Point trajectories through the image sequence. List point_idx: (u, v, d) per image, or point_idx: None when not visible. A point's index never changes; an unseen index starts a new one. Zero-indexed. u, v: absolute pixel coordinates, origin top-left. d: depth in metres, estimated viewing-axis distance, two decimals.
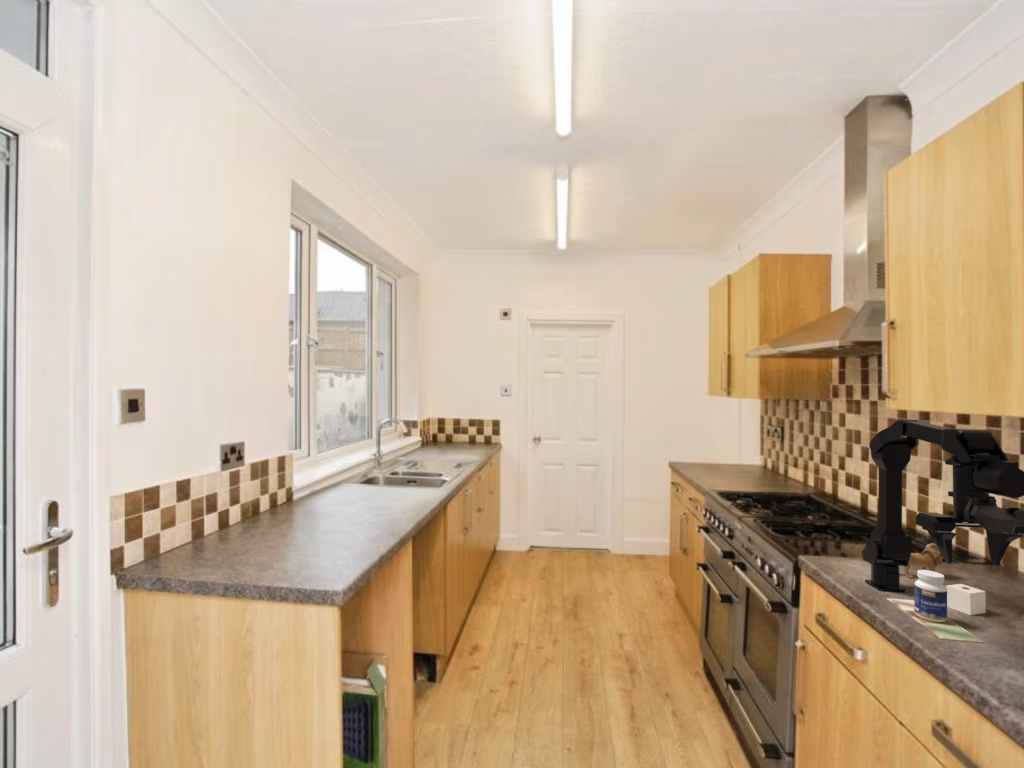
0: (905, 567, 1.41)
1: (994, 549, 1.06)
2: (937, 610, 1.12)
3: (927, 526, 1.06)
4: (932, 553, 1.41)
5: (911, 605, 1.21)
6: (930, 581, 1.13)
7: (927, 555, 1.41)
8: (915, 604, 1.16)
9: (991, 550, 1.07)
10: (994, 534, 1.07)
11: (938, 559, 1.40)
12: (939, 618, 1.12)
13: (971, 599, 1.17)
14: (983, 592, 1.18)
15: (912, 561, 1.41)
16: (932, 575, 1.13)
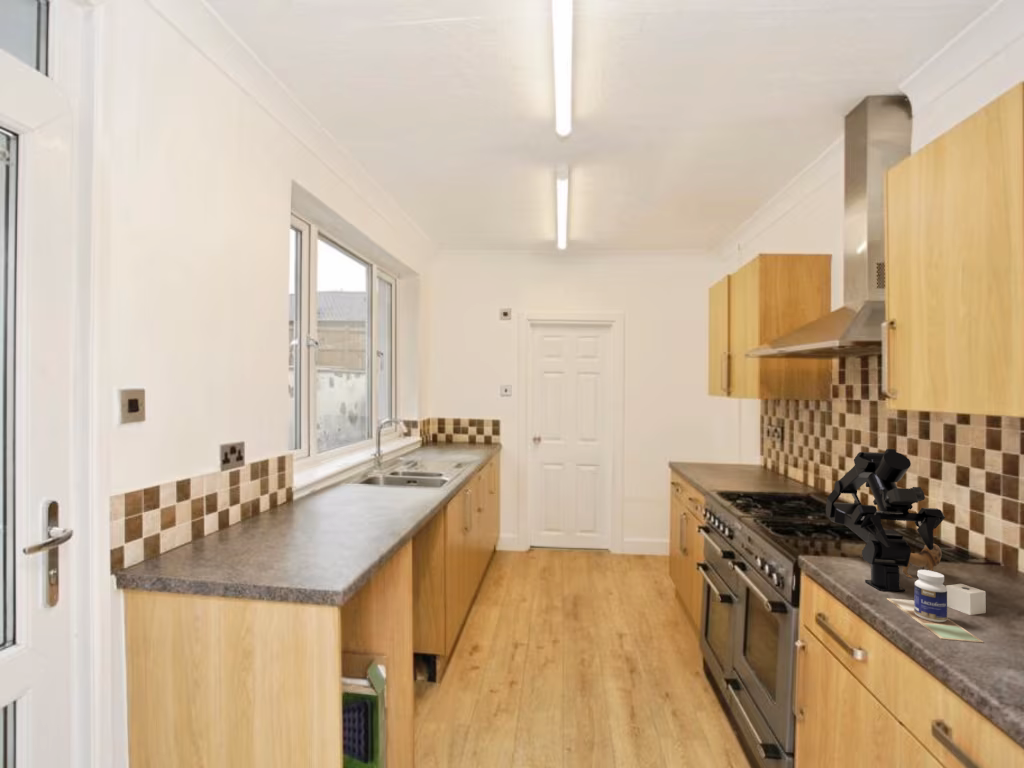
0: (904, 567, 1.42)
1: (925, 537, 1.24)
2: (937, 610, 1.12)
3: (857, 515, 1.29)
4: (931, 553, 1.41)
5: (911, 605, 1.21)
6: (930, 581, 1.13)
7: (925, 555, 1.41)
8: (915, 604, 1.16)
9: (925, 540, 1.24)
10: (921, 527, 1.27)
11: (936, 559, 1.40)
12: (939, 618, 1.12)
13: (971, 599, 1.17)
14: (983, 592, 1.18)
15: (911, 561, 1.41)
16: (932, 575, 1.13)
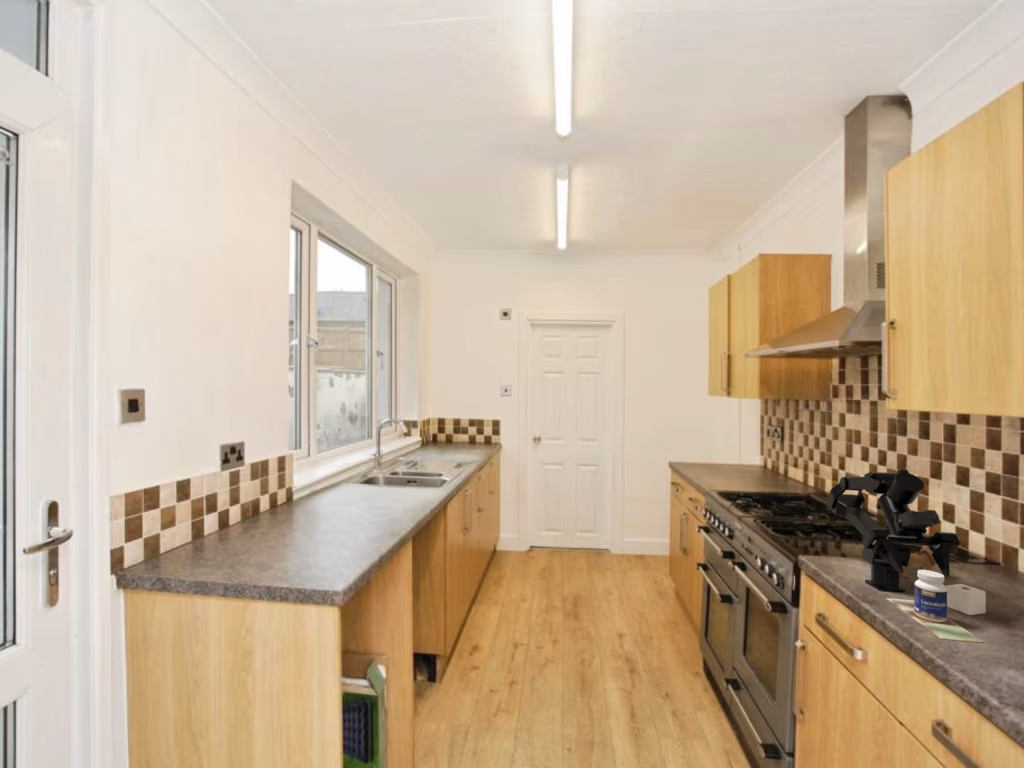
0: None
1: (941, 563, 1.18)
2: (937, 610, 1.12)
3: (868, 539, 1.24)
4: (929, 553, 1.41)
5: (911, 605, 1.21)
6: (930, 581, 1.13)
7: (924, 555, 1.41)
8: (915, 604, 1.16)
9: (940, 566, 1.19)
10: (936, 552, 1.21)
11: None
12: (939, 618, 1.12)
13: (971, 599, 1.17)
14: (983, 592, 1.18)
15: (909, 561, 1.41)
16: (932, 575, 1.13)
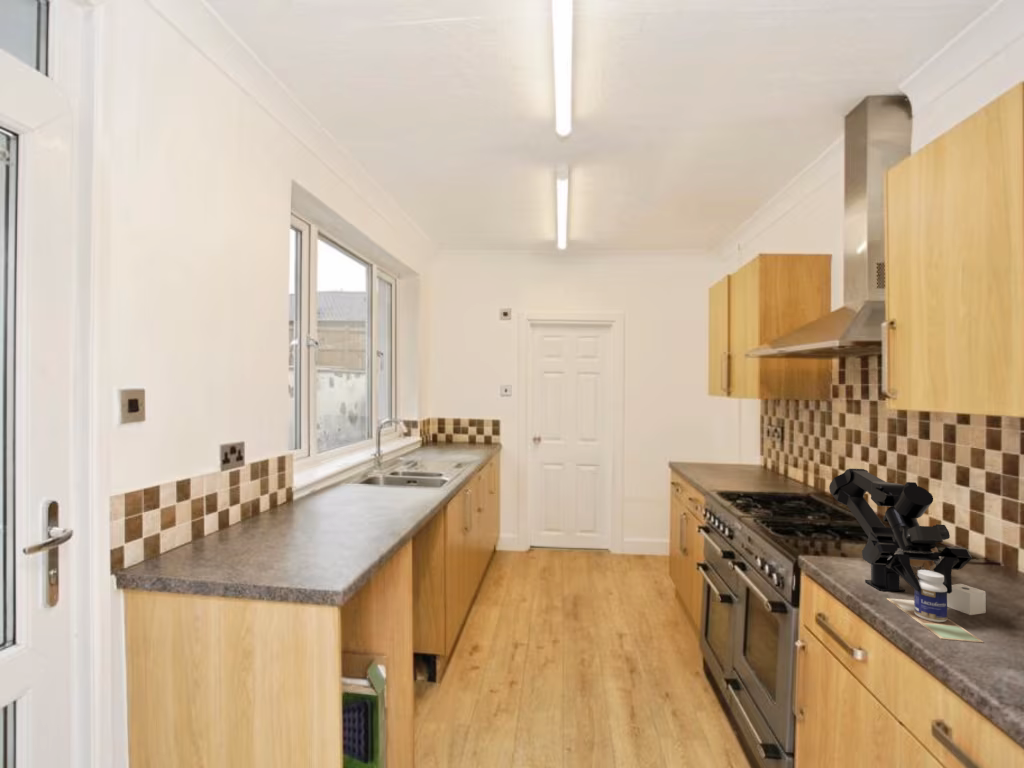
0: None
1: None
2: (937, 610, 1.12)
3: (876, 554, 1.20)
4: None
5: (911, 605, 1.21)
6: (930, 581, 1.13)
7: None
8: (915, 604, 1.16)
9: None
10: (938, 567, 1.18)
11: None
12: (939, 618, 1.12)
13: (971, 599, 1.17)
14: (983, 592, 1.18)
15: None
16: (932, 575, 1.13)
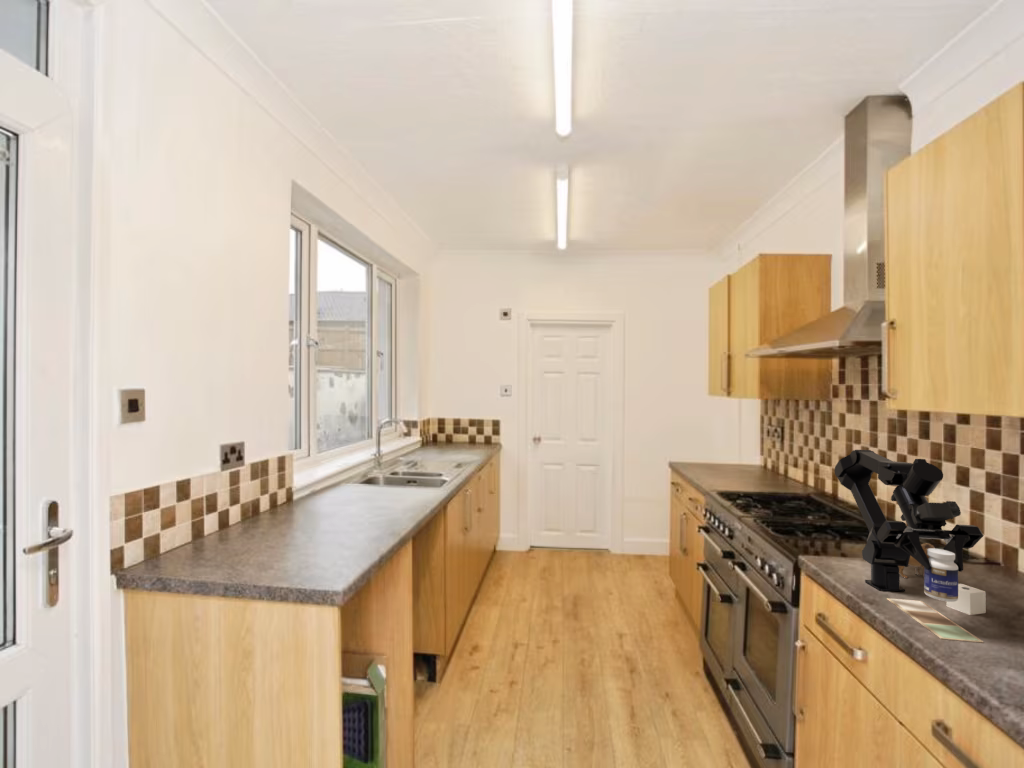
0: (899, 567, 1.41)
1: None
2: (948, 589, 1.08)
3: (884, 532, 1.16)
4: (926, 553, 1.41)
5: (911, 605, 1.21)
6: (941, 559, 1.10)
7: None
8: (925, 583, 1.12)
9: None
10: (948, 546, 1.14)
11: None
12: (950, 597, 1.08)
13: (971, 599, 1.17)
14: (983, 592, 1.18)
15: None
16: (943, 553, 1.10)
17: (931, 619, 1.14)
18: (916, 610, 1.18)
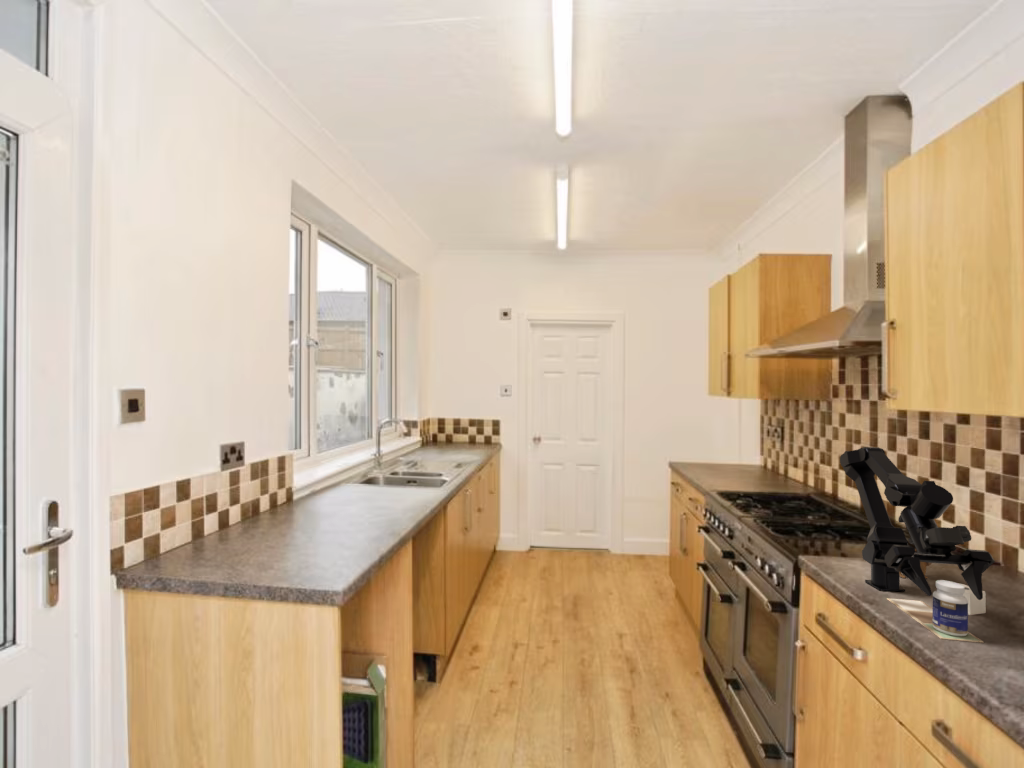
0: None
1: (972, 584, 1.08)
2: (957, 623, 1.05)
3: (892, 557, 1.13)
4: None
5: (911, 605, 1.21)
6: (950, 592, 1.07)
7: None
8: (933, 616, 1.09)
9: (971, 587, 1.08)
10: (967, 572, 1.10)
11: None
12: (959, 632, 1.05)
13: (971, 599, 1.17)
14: (983, 592, 1.18)
15: None
16: (952, 586, 1.07)
17: (931, 619, 1.14)
18: (916, 610, 1.18)
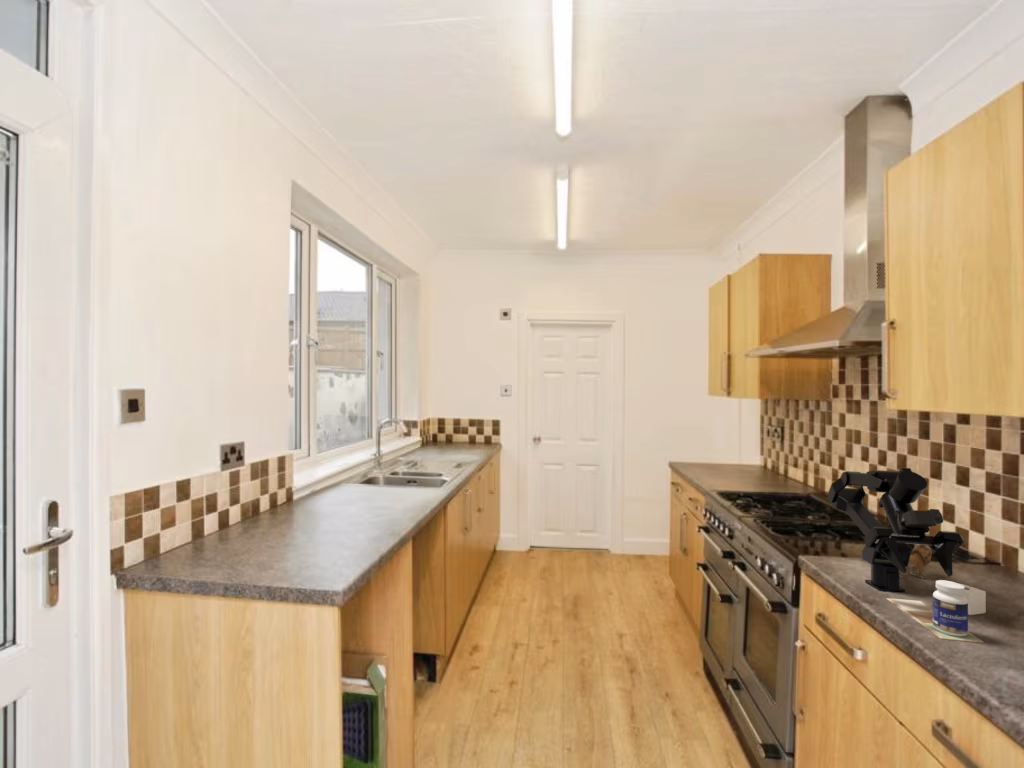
0: None
1: (943, 562, 1.17)
2: (957, 623, 1.05)
3: (871, 538, 1.22)
4: (921, 553, 1.41)
5: (911, 605, 1.21)
6: (950, 593, 1.06)
7: (916, 555, 1.41)
8: (933, 617, 1.09)
9: (943, 565, 1.18)
10: (939, 551, 1.20)
11: (927, 559, 1.40)
12: (959, 632, 1.05)
13: (971, 599, 1.17)
14: (983, 592, 1.18)
15: None
16: (952, 586, 1.07)
17: (931, 619, 1.14)
18: (916, 610, 1.18)
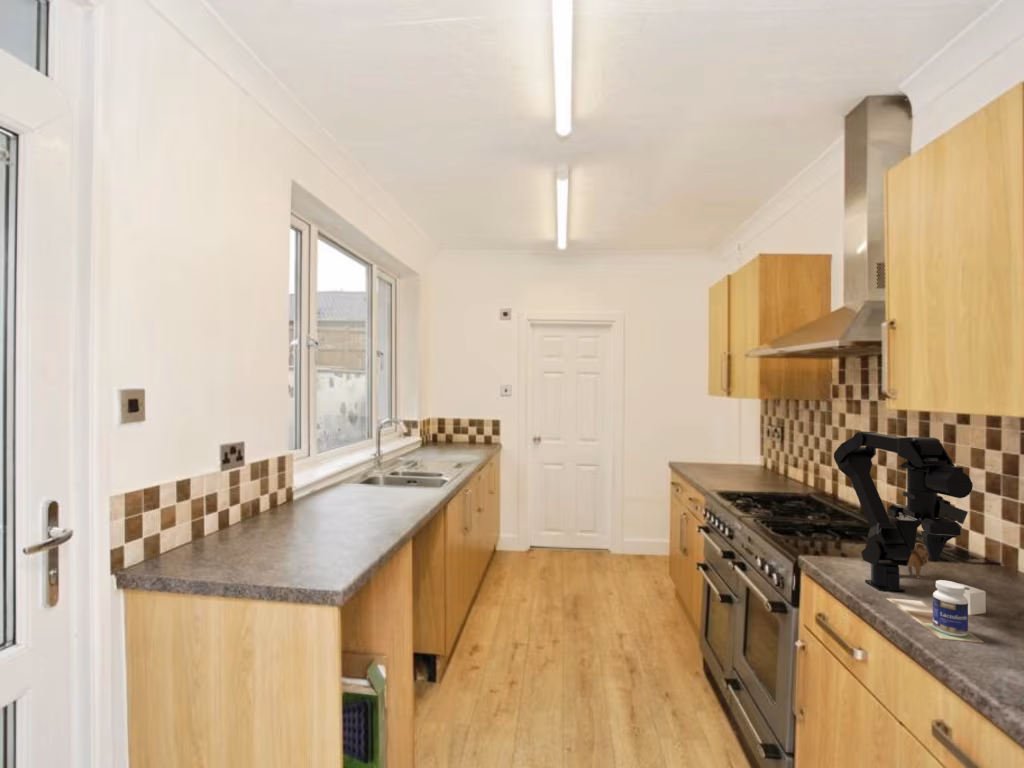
0: None
1: (910, 536, 1.27)
2: (957, 623, 1.05)
3: (952, 533, 1.13)
4: (919, 553, 1.41)
5: (911, 605, 1.21)
6: (950, 593, 1.06)
7: (913, 555, 1.41)
8: (933, 617, 1.09)
9: (907, 538, 1.27)
10: (907, 523, 1.27)
11: (924, 559, 1.40)
12: (959, 632, 1.05)
13: (971, 599, 1.17)
14: (983, 592, 1.18)
15: None
16: (952, 586, 1.07)
17: (931, 619, 1.14)
18: (916, 610, 1.18)
